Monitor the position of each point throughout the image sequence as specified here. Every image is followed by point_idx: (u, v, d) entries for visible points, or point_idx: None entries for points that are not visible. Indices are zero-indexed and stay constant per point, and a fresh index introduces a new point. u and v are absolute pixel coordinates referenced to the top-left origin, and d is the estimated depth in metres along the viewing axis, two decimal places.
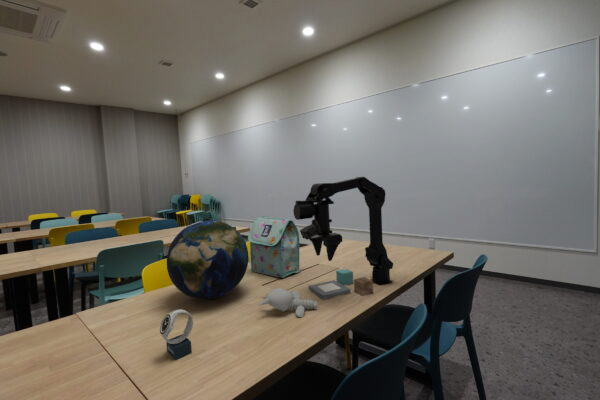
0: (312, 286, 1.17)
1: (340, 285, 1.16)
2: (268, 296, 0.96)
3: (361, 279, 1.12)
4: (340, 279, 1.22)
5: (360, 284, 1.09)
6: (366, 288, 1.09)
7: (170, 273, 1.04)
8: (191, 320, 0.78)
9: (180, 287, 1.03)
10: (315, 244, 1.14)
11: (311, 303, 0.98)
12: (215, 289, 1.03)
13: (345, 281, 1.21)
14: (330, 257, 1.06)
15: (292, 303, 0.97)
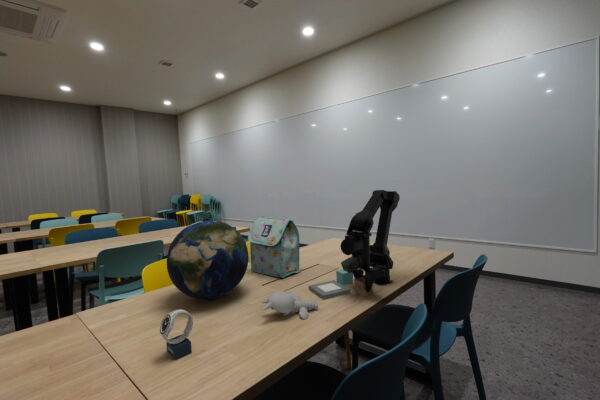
0: (312, 286, 1.17)
1: (340, 285, 1.16)
2: (270, 300, 0.93)
3: (361, 279, 1.12)
4: (340, 279, 1.22)
5: (360, 284, 1.09)
6: None
7: (170, 273, 1.04)
8: (191, 320, 0.78)
9: (180, 287, 1.03)
10: (356, 276, 1.14)
11: (312, 304, 0.98)
12: (215, 289, 1.03)
13: (345, 281, 1.21)
14: (368, 289, 1.09)
15: (294, 305, 0.95)
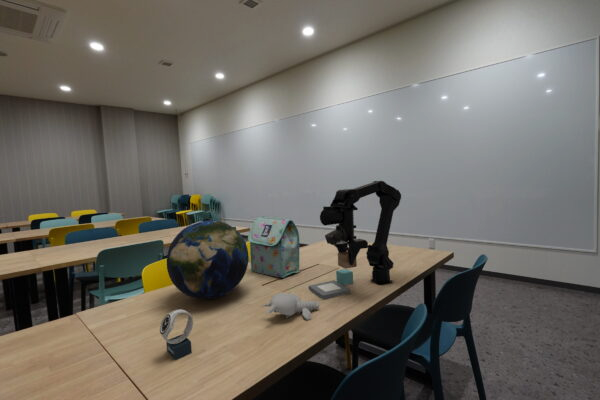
0: (312, 286, 1.17)
1: (340, 285, 1.16)
2: (274, 303, 0.91)
3: (345, 252, 1.12)
4: (340, 279, 1.22)
5: (344, 256, 1.09)
6: None
7: (170, 273, 1.04)
8: (191, 320, 0.78)
9: (180, 287, 1.03)
10: (340, 250, 1.14)
11: (314, 304, 0.98)
12: (215, 289, 1.03)
13: (345, 281, 1.21)
14: (352, 261, 1.09)
15: (297, 307, 0.94)
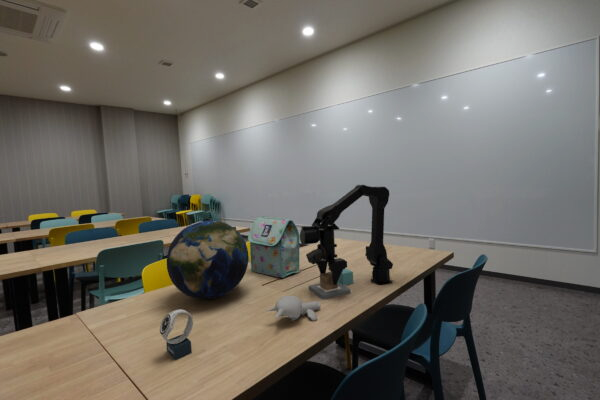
0: (312, 286, 1.17)
1: (340, 285, 1.16)
2: (281, 306, 0.88)
3: (326, 274, 1.15)
4: (340, 279, 1.22)
5: (324, 278, 1.12)
6: (331, 282, 1.12)
7: (170, 273, 1.04)
8: (191, 320, 0.78)
9: (180, 287, 1.03)
10: (320, 267, 1.18)
11: (316, 304, 0.97)
12: (215, 289, 1.03)
13: (345, 281, 1.21)
14: (335, 281, 1.10)
15: (301, 308, 0.93)
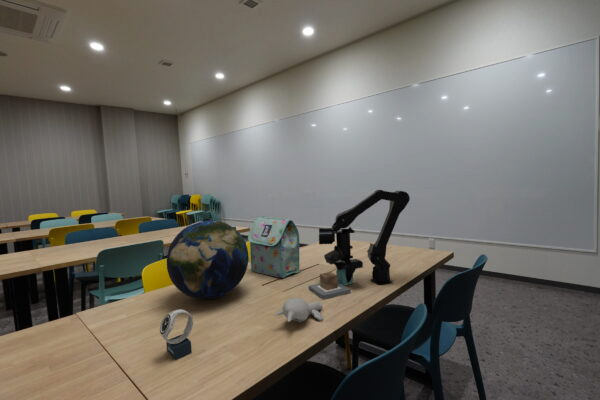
0: (312, 286, 1.17)
1: (340, 285, 1.16)
2: (291, 309, 0.86)
3: (326, 274, 1.15)
4: (340, 279, 1.22)
5: (324, 278, 1.12)
6: (331, 282, 1.12)
7: (170, 273, 1.04)
8: (191, 320, 0.78)
9: (180, 287, 1.03)
10: (339, 268, 1.26)
11: (318, 304, 0.97)
12: (215, 289, 1.03)
13: (345, 281, 1.21)
14: (348, 279, 1.21)
15: None
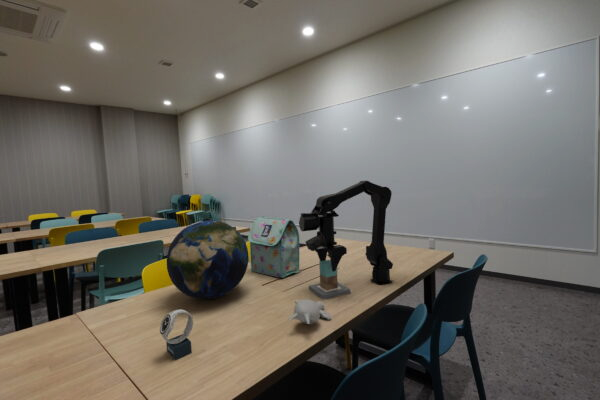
0: (312, 286, 1.17)
1: (340, 285, 1.16)
2: (306, 311, 0.84)
3: None
4: (323, 270, 1.13)
5: (324, 278, 1.12)
6: (331, 282, 1.12)
7: (170, 273, 1.04)
8: (191, 320, 0.78)
9: (180, 287, 1.03)
10: (320, 255, 1.18)
11: (321, 304, 0.97)
12: (215, 289, 1.03)
13: (328, 272, 1.12)
14: (334, 268, 1.10)
15: None
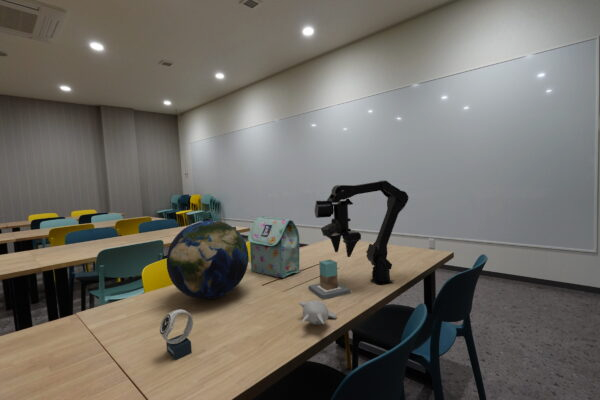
0: (312, 286, 1.17)
1: (340, 285, 1.16)
2: (318, 311, 0.83)
3: None
4: (323, 270, 1.13)
5: (324, 278, 1.12)
6: (331, 282, 1.12)
7: (170, 273, 1.04)
8: (191, 320, 0.78)
9: (180, 287, 1.03)
10: (334, 241, 1.23)
11: None
12: (215, 289, 1.03)
13: (328, 272, 1.12)
14: (349, 253, 1.14)
15: None
